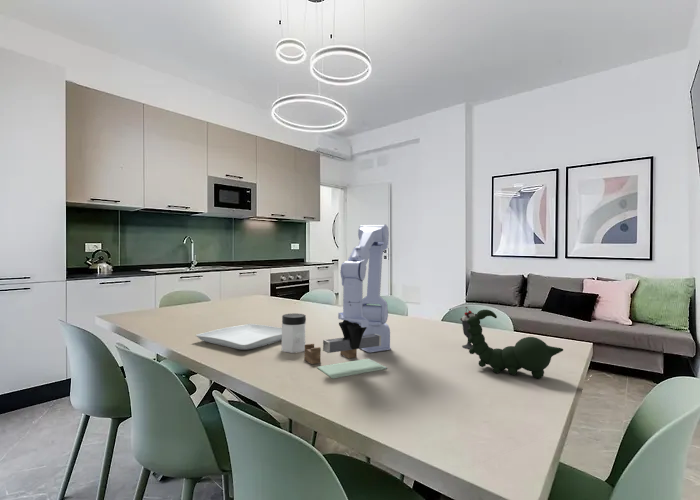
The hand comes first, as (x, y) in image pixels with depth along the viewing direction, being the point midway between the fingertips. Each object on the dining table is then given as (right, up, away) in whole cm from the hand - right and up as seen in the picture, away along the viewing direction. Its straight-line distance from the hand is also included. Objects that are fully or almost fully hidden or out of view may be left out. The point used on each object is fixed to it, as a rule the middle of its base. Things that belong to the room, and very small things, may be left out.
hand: (352, 347), depth 109 cm
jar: (-20, -6, +20) cm, 29 cm away
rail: (0, 0, 0) cm, 0 cm away
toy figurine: (+46, -7, -2) cm, 47 cm away
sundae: (+43, -7, +26) cm, 50 cm away
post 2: (-1, -6, +13) cm, 15 cm away
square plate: (-40, -6, +32) cm, 51 cm away
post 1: (-12, -6, +7) cm, 15 cm away
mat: (0, -6, 0) cm, 6 cm away
